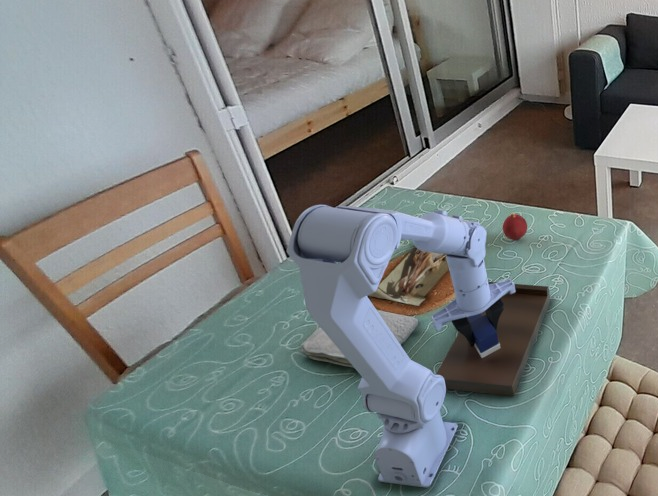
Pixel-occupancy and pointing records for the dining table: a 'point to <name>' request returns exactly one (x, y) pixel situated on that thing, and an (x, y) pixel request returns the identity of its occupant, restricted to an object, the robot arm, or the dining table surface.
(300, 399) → the dining table surface
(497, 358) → the shoe shelf
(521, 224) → the onion
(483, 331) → the trainer
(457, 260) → the robot arm
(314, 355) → the washcloth
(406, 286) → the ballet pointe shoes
